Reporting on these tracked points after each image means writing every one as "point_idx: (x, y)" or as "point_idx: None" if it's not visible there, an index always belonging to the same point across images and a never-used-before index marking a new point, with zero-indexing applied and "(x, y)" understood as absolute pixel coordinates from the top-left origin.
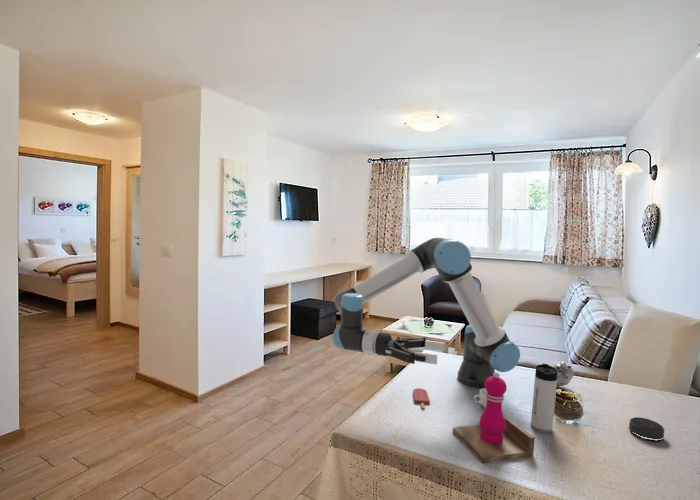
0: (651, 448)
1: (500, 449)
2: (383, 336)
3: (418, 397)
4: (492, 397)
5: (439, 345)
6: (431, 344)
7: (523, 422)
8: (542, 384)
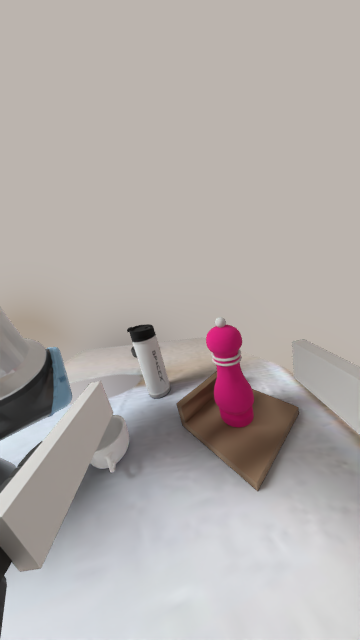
0: (160, 349)
1: (254, 399)
2: None
3: None
4: (240, 351)
5: (93, 411)
6: (63, 462)
7: (152, 405)
8: (155, 341)
